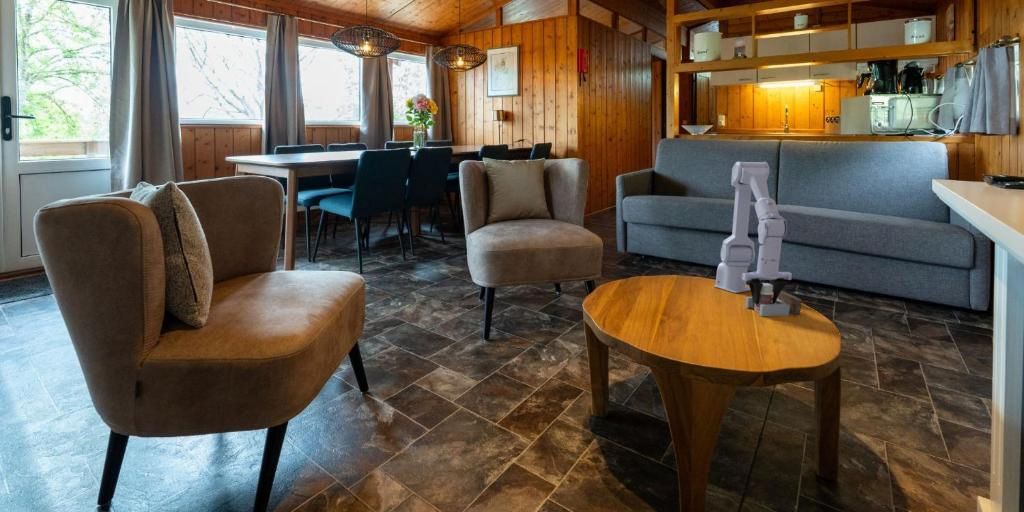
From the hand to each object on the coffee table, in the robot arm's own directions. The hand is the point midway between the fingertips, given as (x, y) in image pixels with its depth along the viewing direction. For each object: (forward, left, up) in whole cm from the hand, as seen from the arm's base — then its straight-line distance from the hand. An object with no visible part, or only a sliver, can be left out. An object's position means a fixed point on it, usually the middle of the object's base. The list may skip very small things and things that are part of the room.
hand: (763, 302), depth 161 cm
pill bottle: (0, 0, -3) cm, 3 cm away
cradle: (0, +1, -3) cm, 3 cm away
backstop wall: (+4, +7, -3) cm, 8 cm away
